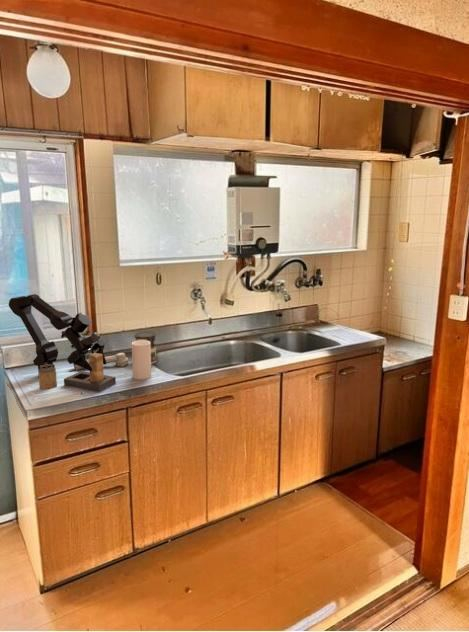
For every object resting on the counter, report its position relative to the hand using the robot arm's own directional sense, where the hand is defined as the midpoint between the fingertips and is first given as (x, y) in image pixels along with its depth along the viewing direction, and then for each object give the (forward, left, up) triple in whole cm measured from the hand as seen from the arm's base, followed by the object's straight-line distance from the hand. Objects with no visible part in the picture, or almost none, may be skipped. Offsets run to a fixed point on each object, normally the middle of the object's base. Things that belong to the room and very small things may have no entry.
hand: (98, 367), depth 196 cm
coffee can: (+24, +28, -9) cm, 38 cm away
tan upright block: (-21, +5, -9) cm, 23 cm away
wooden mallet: (+2, +26, -9) cm, 27 cm away
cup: (+19, +7, -9) cm, 22 cm away
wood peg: (-1, +1, -9) cm, 9 cm away
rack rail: (-4, +3, -9) cm, 10 cm away
